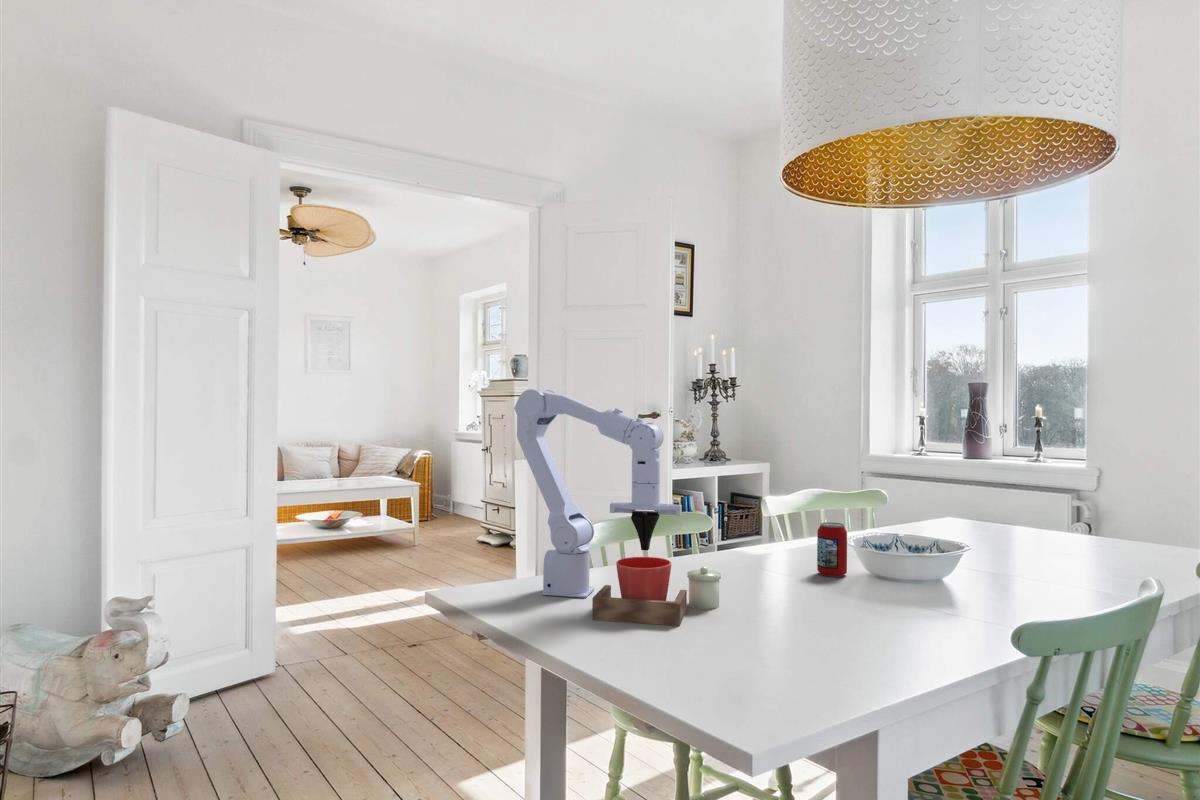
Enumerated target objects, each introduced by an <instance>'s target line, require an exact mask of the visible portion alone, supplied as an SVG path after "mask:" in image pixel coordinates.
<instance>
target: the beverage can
mask: <svg viewBox="0 0 1200 800" xmlns="http://www.w3.org/2000/svg"><path fill="white" fill-rule="evenodd" d="M816 533H817V536H816V537H817V542H816V545H817V547H816V548H817V549H816V551H817V553H816V555H817V556H816V557H817V558H816V561H817V564H816V567H817V569H816V570H817V572H818V573H819V574H820V575H822V576H825V577H829V578H831V577H832V578H840V577H843V576H845V575H846V574H847V573H848V572H847V571H848V570H847V569H848V531H847V530H846V527H845V525H844V524H843V523H841V522H840V523H839V522H831V521H829V522H826V521H825V522H821V523H820V525H819V527H818V528H817V532H816Z"/></svg>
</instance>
